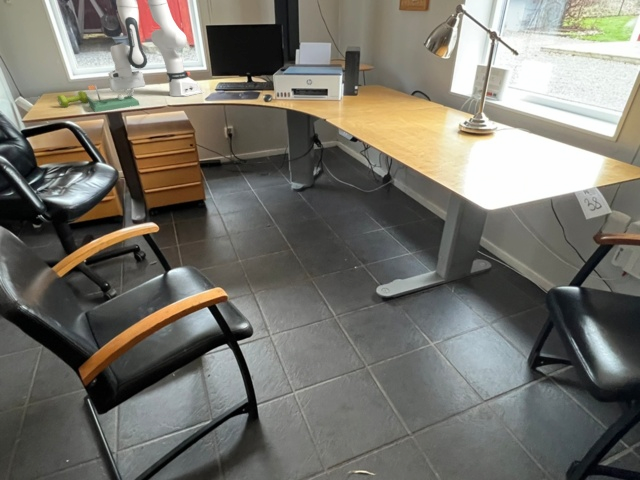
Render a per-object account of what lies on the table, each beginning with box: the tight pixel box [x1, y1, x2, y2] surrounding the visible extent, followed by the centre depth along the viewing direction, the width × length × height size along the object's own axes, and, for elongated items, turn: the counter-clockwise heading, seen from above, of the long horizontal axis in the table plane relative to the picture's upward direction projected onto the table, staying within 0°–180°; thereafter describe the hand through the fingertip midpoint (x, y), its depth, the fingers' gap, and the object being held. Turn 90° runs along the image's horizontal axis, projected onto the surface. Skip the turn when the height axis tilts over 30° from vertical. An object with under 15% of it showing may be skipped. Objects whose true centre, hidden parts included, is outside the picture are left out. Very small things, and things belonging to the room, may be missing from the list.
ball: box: [117, 93, 125, 100], centre depth 238 cm, size 4×4×4 cm
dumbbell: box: [56, 90, 89, 108], centre depth 239 cm, size 16×8×7 cm, turn 142°
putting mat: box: [87, 84, 140, 113], centre depth 234 cm, size 25×18×12 cm
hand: (130, 96), depth 241 cm, fingers closed
